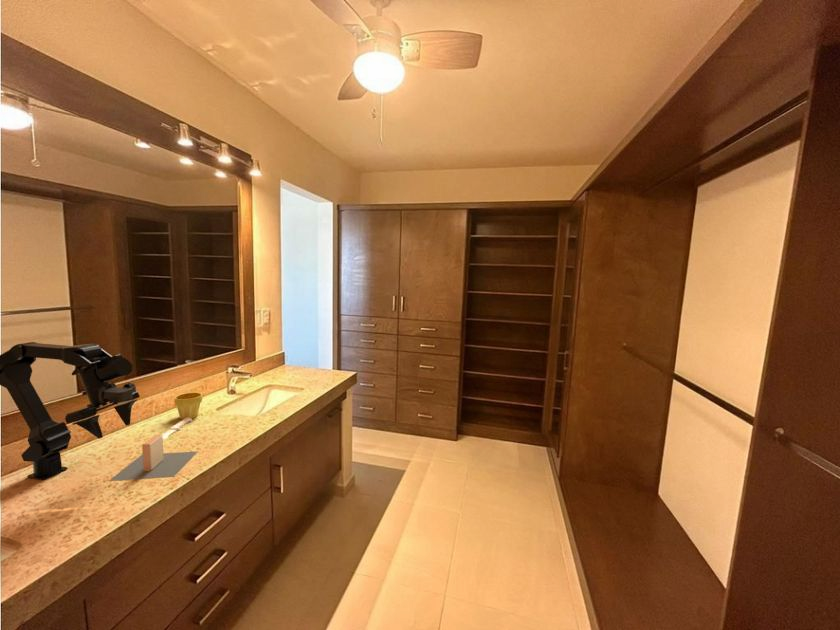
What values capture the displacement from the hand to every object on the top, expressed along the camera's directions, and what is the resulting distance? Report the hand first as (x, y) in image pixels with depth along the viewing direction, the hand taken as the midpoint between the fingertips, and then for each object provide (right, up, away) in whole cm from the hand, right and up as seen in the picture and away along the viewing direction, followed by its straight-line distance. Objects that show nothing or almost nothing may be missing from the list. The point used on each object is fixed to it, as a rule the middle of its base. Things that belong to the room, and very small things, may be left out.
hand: (115, 431), depth 105 cm
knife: (-4, -13, +29) cm, 32 cm away
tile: (+6, -14, +7) cm, 17 cm away
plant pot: (-10, -10, +48) cm, 50 cm away
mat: (+7, -14, +7) cm, 18 cm away
